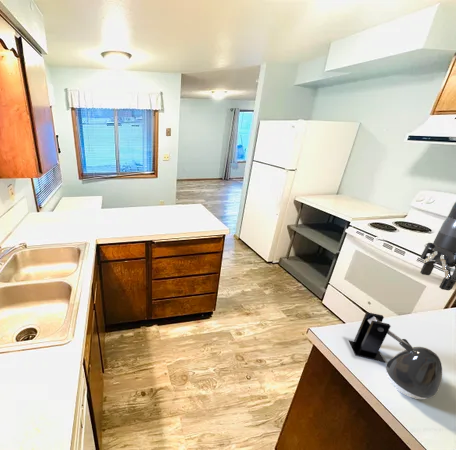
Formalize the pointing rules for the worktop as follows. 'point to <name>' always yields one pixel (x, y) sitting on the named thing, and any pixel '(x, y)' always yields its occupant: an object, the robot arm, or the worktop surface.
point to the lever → (390, 332)
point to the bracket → (370, 338)
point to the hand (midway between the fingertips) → (433, 281)
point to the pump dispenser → (415, 372)
